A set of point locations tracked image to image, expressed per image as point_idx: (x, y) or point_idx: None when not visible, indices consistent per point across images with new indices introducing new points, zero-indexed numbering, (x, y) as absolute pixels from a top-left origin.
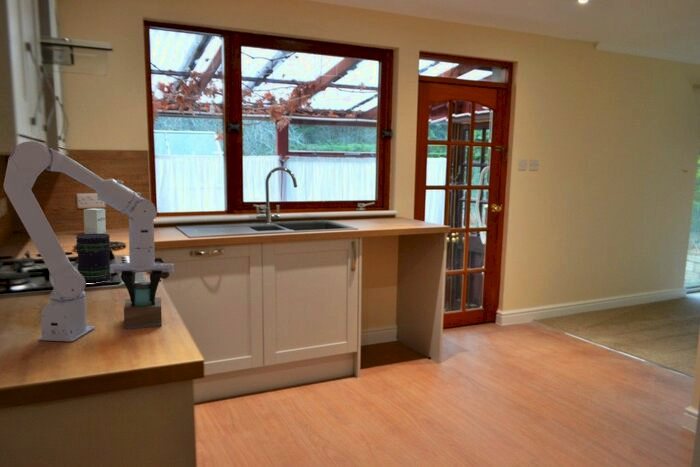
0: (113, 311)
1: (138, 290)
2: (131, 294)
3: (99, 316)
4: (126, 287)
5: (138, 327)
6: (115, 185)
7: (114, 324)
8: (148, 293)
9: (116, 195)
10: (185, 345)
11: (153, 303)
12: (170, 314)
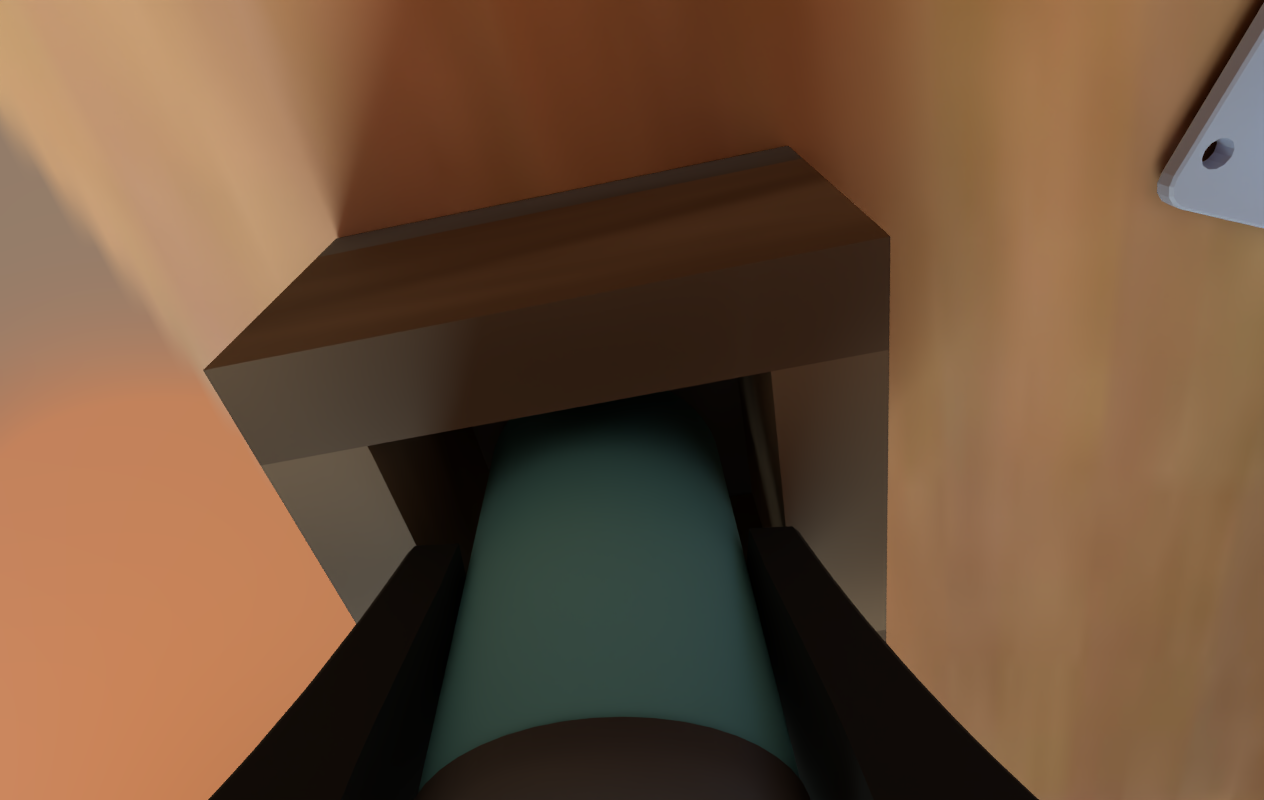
0: (939, 667)
1: (676, 699)
2: (823, 624)
3: (1061, 562)
4: (1012, 775)
5: (615, 184)
6: None
7: (918, 335)
8: (461, 662)
9: None
10: None
11: None
12: None
